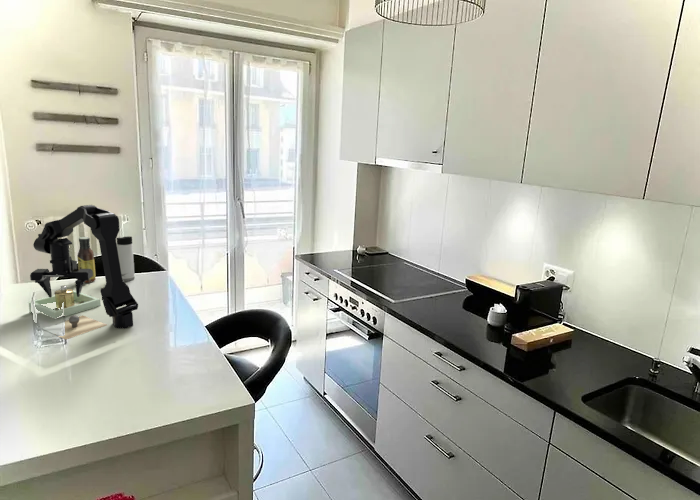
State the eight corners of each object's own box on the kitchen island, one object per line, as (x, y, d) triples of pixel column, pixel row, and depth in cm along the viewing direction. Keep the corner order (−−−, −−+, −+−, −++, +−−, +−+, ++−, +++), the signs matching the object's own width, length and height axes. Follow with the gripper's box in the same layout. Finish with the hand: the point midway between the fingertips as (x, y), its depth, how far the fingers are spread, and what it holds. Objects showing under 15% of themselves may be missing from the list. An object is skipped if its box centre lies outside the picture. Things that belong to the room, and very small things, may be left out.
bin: (100, 309, 170) (100, 299, 169) (55, 323, 156) (54, 312, 155) (74, 299, 178) (73, 290, 177) (29, 312, 163) (28, 302, 162)
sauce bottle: (80, 279, 200) (76, 236, 195) (96, 278, 203) (92, 235, 198) (78, 284, 194) (74, 239, 190) (95, 283, 197) (91, 238, 192)
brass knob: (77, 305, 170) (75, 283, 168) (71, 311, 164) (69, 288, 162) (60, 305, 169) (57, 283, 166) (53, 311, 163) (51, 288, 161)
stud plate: (107, 328, 154) (106, 313, 153) (66, 343, 142) (64, 327, 141) (83, 319, 160) (81, 304, 159) (41, 332, 148) (39, 317, 147)
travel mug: (124, 282, 200) (121, 238, 195) (116, 278, 204) (113, 235, 199) (137, 279, 205) (135, 236, 200) (130, 276, 209) (127, 234, 204)
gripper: (96, 250, 171) (99, 289, 175) (41, 250, 167) (45, 289, 171) (85, 258, 161) (89, 299, 164) (26, 258, 157) (32, 300, 161)
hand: (64, 296), depth 165 cm, fingers open, 9 cm apart
